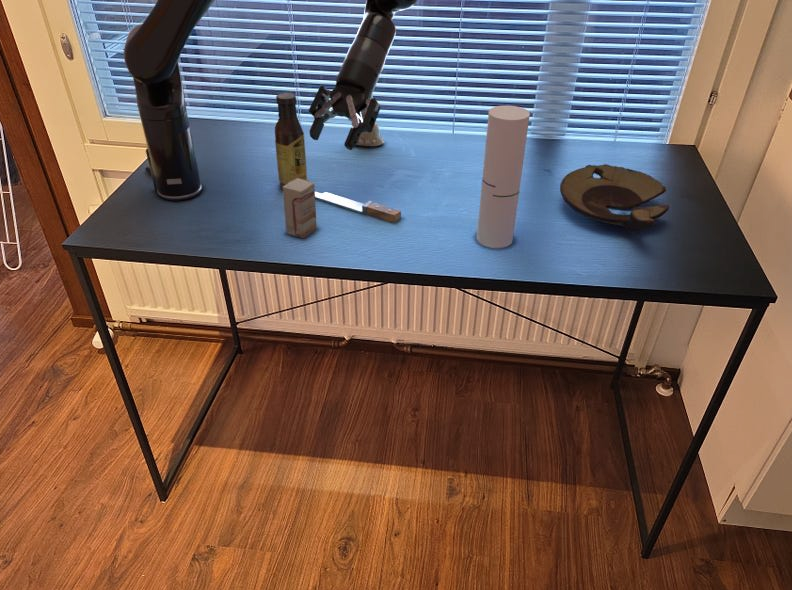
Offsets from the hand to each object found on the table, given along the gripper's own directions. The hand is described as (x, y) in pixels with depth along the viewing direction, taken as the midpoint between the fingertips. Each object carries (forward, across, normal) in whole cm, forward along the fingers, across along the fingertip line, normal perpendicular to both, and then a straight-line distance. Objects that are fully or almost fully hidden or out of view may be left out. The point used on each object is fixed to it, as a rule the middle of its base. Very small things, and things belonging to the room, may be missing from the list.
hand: (330, 143), depth 131 cm
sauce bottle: (+8, -14, +13) cm, 21 cm away
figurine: (-14, -15, +34) cm, 40 cm away
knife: (+8, +3, +12) cm, 15 cm away
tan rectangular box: (+18, 0, +2) cm, 18 cm away
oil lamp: (-11, +50, +31) cm, 60 cm away
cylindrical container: (+5, +34, +16) cm, 38 cm away
